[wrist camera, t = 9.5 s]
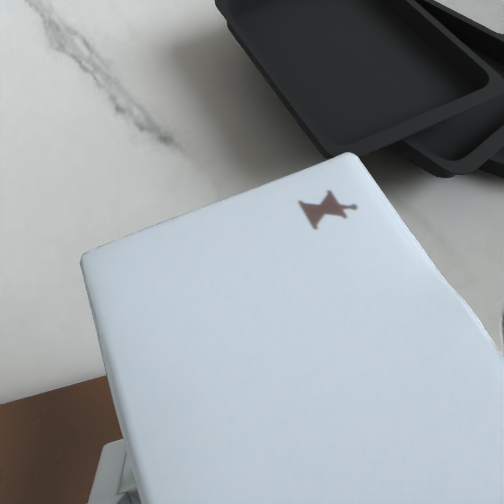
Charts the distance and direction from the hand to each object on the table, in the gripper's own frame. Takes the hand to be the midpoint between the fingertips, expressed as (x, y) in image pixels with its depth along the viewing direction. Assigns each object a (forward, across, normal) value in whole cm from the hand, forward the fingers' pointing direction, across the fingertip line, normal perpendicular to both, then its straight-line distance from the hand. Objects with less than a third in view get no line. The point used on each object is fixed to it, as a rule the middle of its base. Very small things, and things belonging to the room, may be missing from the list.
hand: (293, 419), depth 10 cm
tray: (+30, +16, +5) cm, 35 cm away
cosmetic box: (+5, 0, -6) cm, 7 cm away
